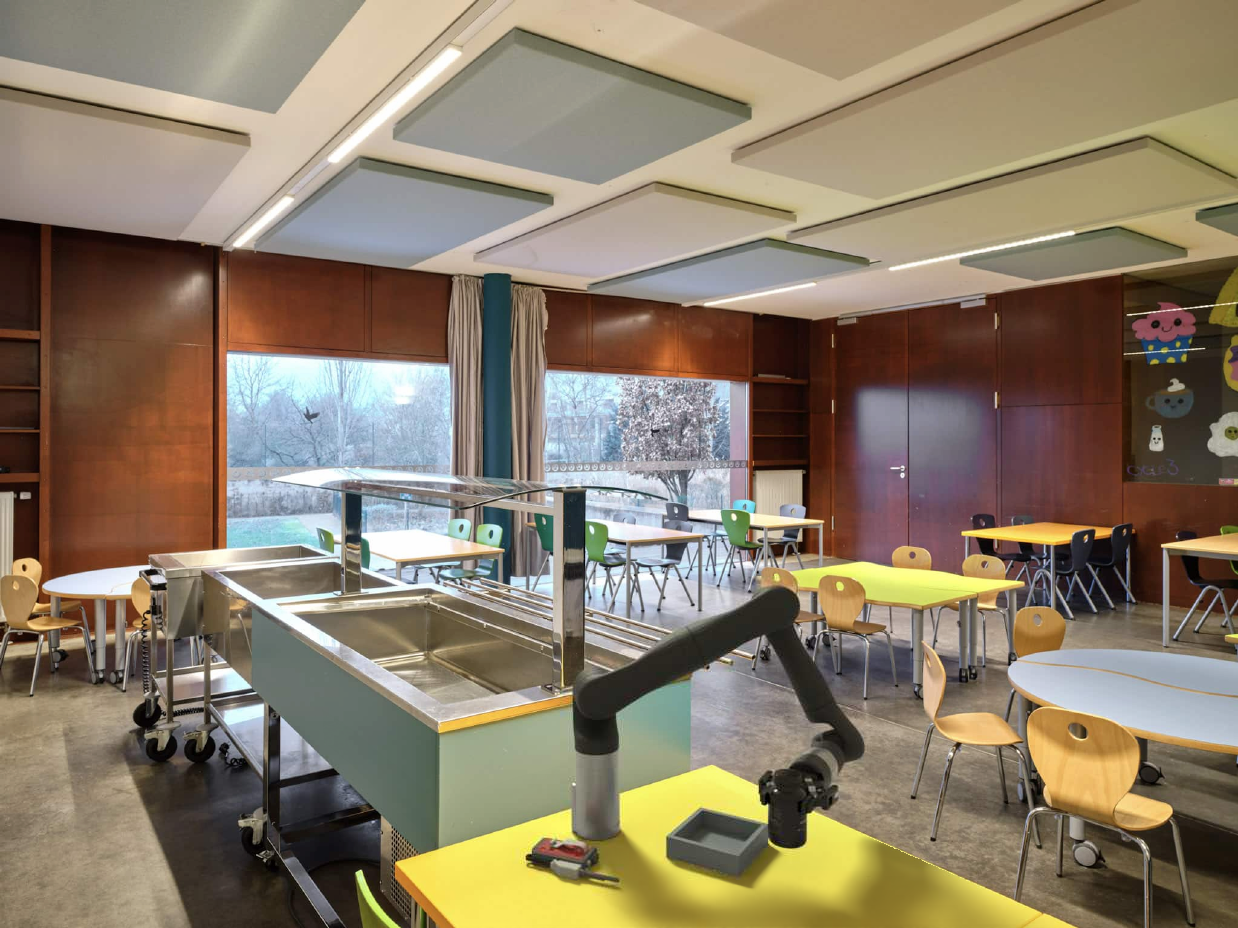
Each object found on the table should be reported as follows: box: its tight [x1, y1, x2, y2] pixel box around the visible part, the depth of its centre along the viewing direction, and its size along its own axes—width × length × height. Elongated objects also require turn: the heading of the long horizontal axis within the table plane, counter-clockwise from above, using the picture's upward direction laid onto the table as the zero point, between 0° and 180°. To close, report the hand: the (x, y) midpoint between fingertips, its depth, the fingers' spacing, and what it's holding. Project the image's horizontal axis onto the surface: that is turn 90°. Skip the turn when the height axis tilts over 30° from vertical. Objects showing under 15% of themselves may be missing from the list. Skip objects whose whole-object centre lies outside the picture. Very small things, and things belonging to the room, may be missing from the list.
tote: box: [665, 806, 769, 879], centre depth 156 cm, size 15×15×4 cm
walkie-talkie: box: [524, 837, 620, 883], centre depth 150 cm, size 9×4×20 cm
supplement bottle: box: [767, 768, 808, 850], centre depth 141 cm, size 7×7×12 cm
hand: (783, 804), depth 139 cm, fingers closed on supplement bottle, 7 cm apart
